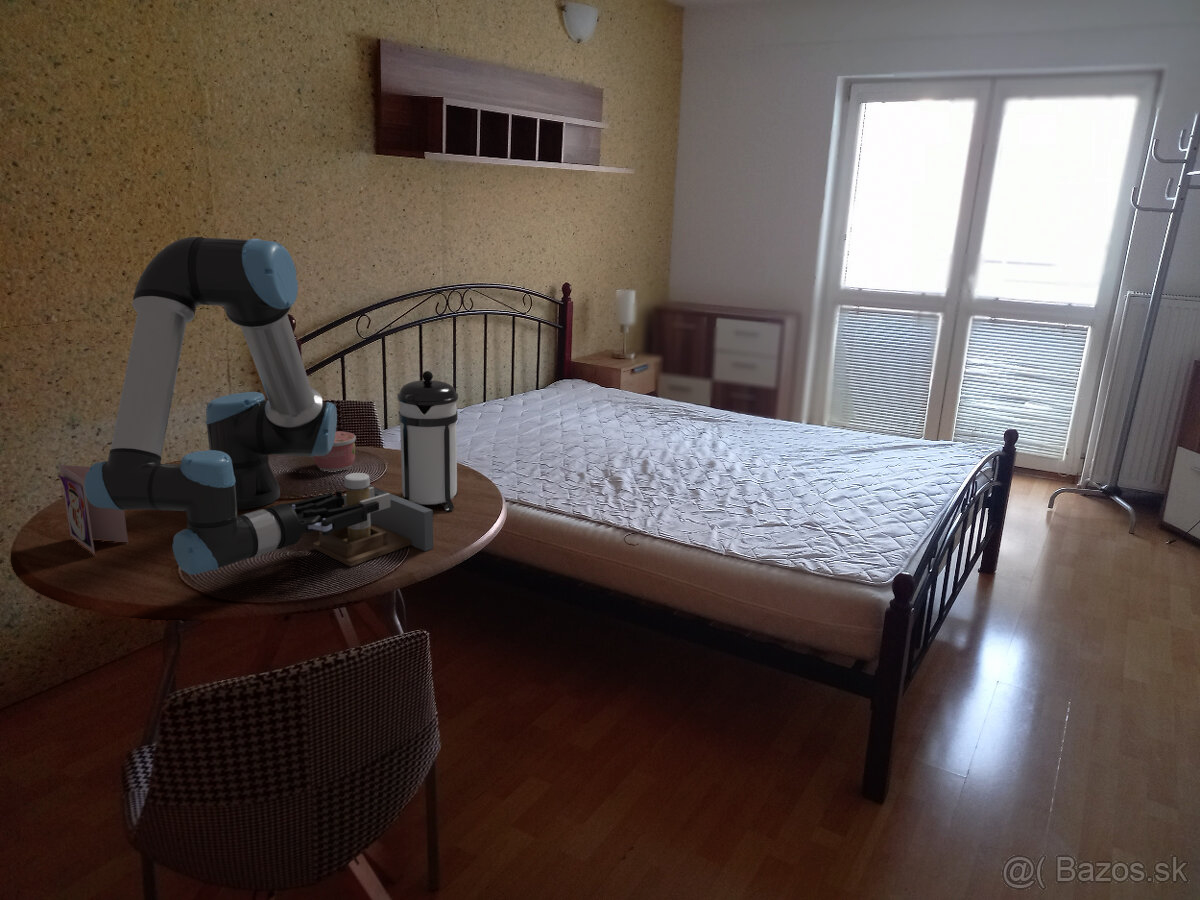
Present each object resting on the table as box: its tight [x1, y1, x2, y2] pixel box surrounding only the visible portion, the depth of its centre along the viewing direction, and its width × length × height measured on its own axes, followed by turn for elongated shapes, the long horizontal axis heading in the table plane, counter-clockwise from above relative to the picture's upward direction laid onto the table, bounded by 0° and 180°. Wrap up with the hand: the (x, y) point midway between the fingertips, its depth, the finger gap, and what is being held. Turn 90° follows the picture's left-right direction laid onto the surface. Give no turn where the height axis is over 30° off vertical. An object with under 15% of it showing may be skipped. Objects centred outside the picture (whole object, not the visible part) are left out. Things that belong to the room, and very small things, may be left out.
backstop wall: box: [369, 484, 434, 552], centre depth 165 cm, size 2×20×8 cm, turn 51°
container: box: [313, 430, 357, 471], centre depth 204 cm, size 10×10×8 cm
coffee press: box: [397, 370, 459, 512], centre depth 182 cm, size 17×16×30 cm
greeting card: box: [57, 464, 129, 555], centre depth 155 cm, size 11×7×15 cm, turn 51°
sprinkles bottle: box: [344, 472, 371, 543], centre depth 158 cm, size 5×5×13 cm
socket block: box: [312, 524, 412, 567], centre depth 160 cm, size 14×12×4 cm
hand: (380, 496), depth 161 cm, fingers closed on sprinkles bottle, 4 cm apart
